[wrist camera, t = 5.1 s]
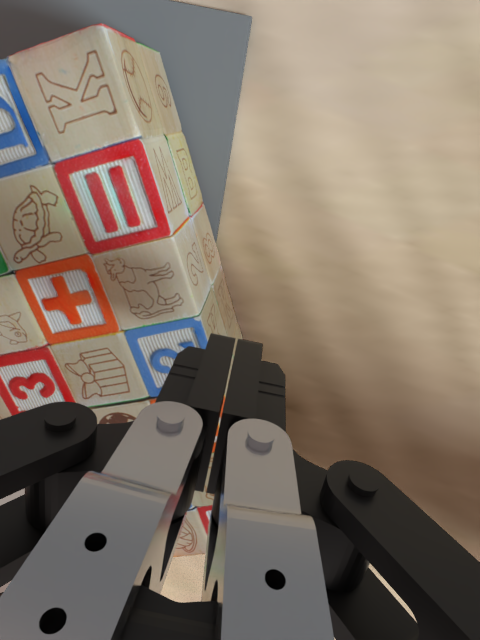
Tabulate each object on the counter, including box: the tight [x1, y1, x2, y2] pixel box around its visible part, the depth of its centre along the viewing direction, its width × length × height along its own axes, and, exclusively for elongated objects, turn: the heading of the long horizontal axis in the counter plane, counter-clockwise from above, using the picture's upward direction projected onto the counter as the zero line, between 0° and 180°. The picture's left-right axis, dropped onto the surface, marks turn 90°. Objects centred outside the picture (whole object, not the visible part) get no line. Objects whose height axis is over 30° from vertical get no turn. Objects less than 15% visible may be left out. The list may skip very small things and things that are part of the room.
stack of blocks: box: [0, 23, 243, 557], centre depth 20 cm, size 21×6×12 cm
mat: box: [0, 0, 252, 243], centre depth 21 cm, size 11×20×1 cm, turn 170°
